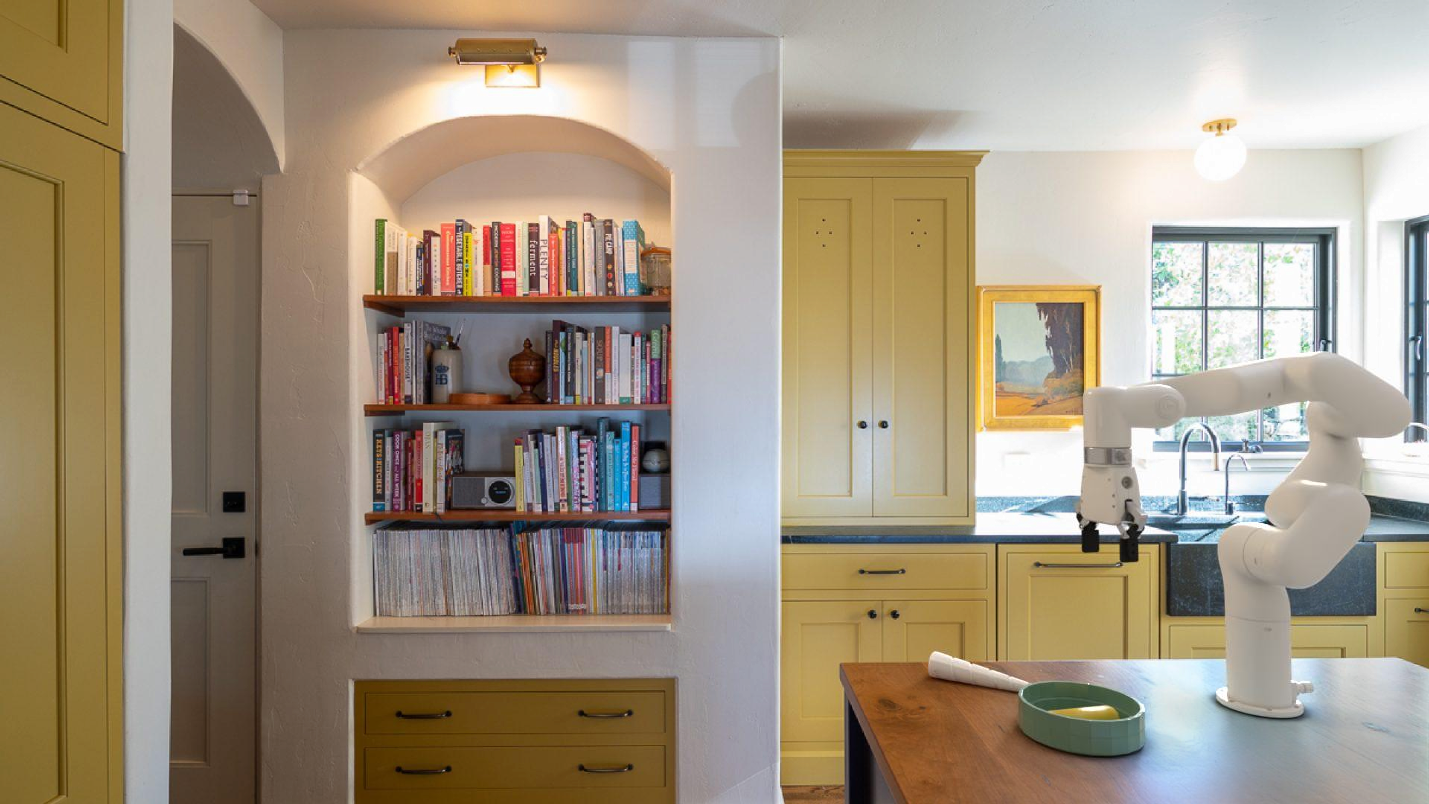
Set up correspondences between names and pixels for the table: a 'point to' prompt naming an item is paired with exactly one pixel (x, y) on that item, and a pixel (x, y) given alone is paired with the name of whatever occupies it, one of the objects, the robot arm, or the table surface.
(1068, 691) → the green round dish
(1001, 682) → the unicorn horn
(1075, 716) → the yellow rounded capsule
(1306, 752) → the table surface
